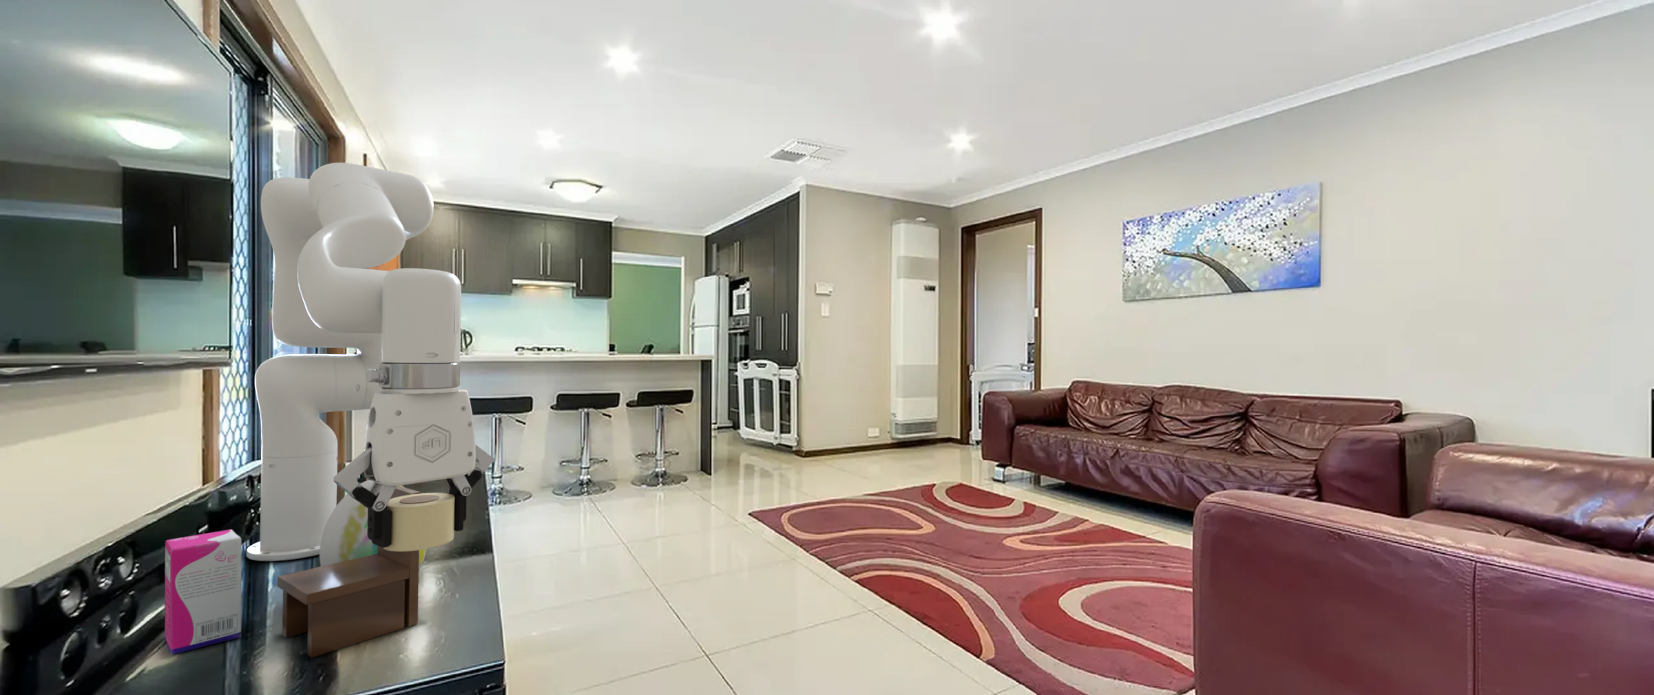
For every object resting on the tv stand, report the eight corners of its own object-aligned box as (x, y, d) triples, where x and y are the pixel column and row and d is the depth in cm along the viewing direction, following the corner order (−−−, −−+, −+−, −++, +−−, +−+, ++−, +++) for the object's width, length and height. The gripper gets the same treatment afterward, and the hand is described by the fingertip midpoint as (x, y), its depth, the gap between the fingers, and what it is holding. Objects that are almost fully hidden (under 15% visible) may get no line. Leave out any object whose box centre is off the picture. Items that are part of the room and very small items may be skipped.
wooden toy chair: (276, 637, 73) (278, 498, 73) (385, 605, 82) (387, 482, 82) (305, 660, 68) (308, 510, 68) (417, 623, 77) (420, 492, 77)
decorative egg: (361, 610, 80) (363, 492, 80) (296, 596, 84) (298, 483, 84) (447, 577, 92) (449, 474, 92) (386, 566, 96) (388, 467, 96)
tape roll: (399, 555, 67) (399, 509, 67) (371, 543, 71) (372, 500, 71) (465, 540, 73) (466, 497, 73) (436, 530, 77) (437, 489, 77)
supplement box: (232, 622, 76) (234, 527, 76) (241, 637, 73) (243, 537, 73) (163, 639, 72) (164, 538, 72) (169, 656, 68) (170, 549, 68)
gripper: (343, 383, 63) (340, 564, 63) (514, 378, 77) (511, 525, 77) (314, 380, 67) (312, 550, 67) (481, 375, 81) (479, 515, 81)
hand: (419, 535), depth 72 cm, fingers closed on tape roll, 6 cm apart
